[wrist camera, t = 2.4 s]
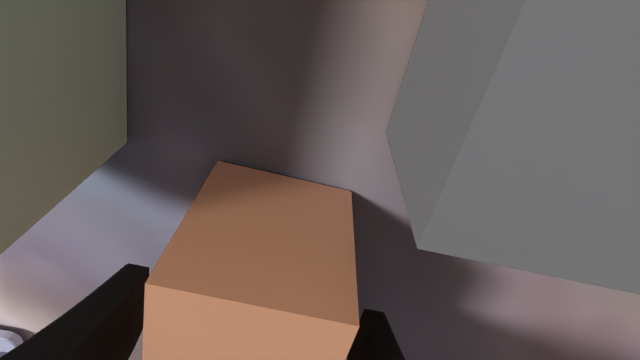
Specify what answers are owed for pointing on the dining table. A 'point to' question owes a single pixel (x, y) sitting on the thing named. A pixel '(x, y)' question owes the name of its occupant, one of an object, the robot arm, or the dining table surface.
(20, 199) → the sage block
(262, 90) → the dining table surface
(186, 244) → the terracotta block
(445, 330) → the dining table surface
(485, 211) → the charcoal block
